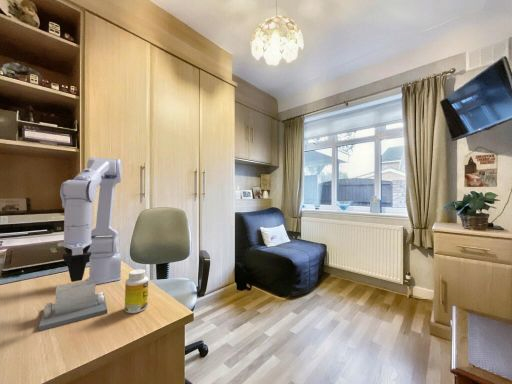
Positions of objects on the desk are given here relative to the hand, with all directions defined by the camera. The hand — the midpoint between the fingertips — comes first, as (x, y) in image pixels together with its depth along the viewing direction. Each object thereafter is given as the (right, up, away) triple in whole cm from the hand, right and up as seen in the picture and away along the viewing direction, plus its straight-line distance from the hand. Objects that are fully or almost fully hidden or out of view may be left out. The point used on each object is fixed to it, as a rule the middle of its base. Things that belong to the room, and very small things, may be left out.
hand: (76, 276), depth 60 cm
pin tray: (0, -9, 0) cm, 9 cm away
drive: (0, -8, 0) cm, 8 cm away
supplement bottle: (+15, -10, +2) cm, 18 cm away
